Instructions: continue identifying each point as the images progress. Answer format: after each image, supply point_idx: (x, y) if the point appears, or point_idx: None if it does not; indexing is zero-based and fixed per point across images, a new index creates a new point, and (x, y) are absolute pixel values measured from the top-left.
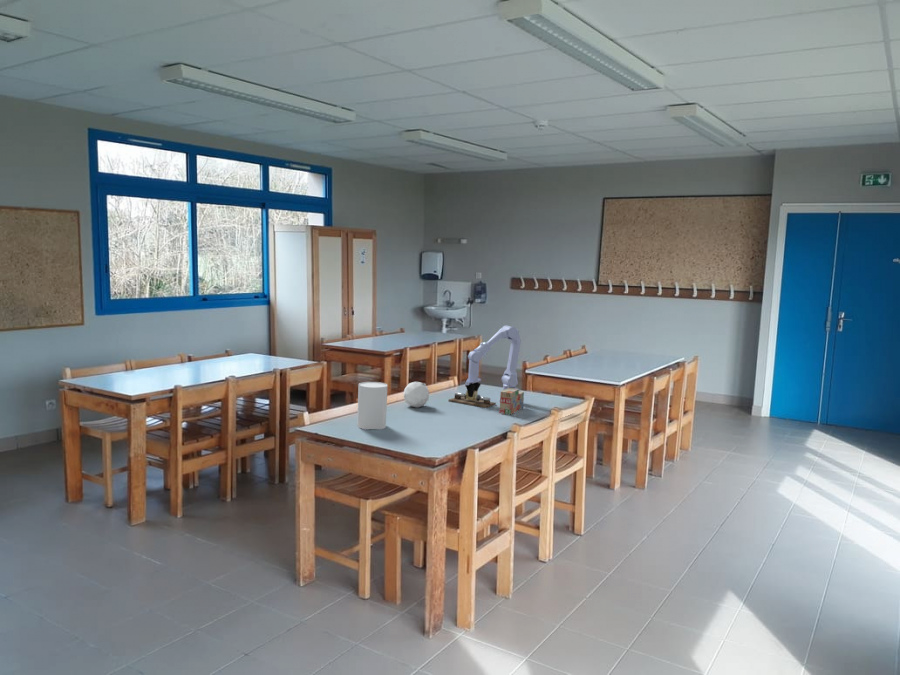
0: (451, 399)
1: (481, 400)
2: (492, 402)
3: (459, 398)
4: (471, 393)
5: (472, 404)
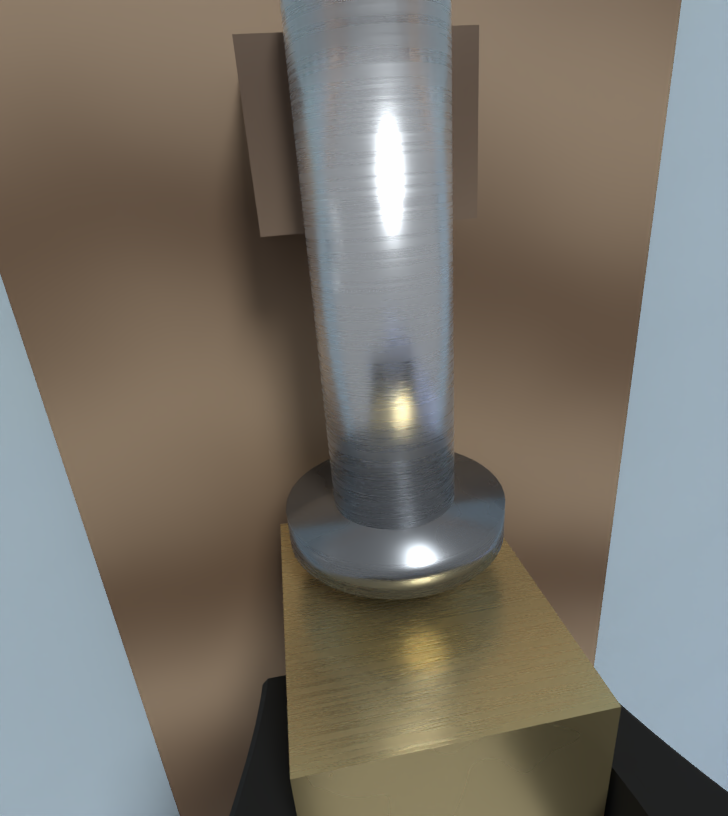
0: (31, 68)
1: (580, 639)
2: None
3: None
4: None
5: (159, 728)
